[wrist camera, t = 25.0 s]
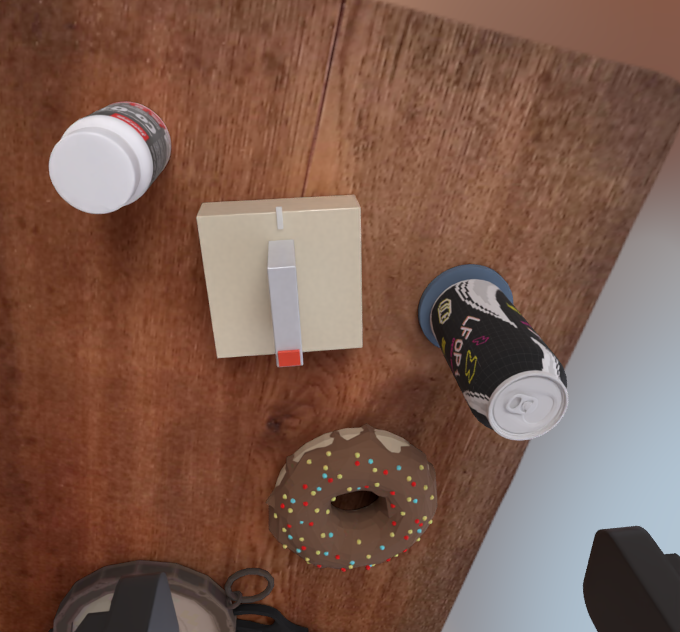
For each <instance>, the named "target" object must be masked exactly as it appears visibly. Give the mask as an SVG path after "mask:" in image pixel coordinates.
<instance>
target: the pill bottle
mask: <svg viewBox="0 0 680 632" xmlns="http://www.w3.org/2000/svg"><path fill="white" fill-rule="evenodd" d="M170 153H171V140H170V136H169V132H168V130H167V128H166V126H165V124H164V123H163V121H162V120H161V119H160V118H159V116H158V115H157V114H155V113H154V112H153V111H152V110H150V109H149V108H147V107H145V106H143V105H140V104H137V103H133V102H117V103H113V104H111V105H108V106H106V107H104V108H102V109H100V110H98V111H96V112H94V113H92V114H90V115H88V116H86V117H84V118H82V119H80V120H78V121H76V122H75V123H74V124H72V125H71V126H70V127H69V128H68V129H67V130H66V132H65V133H64V135H63V136H62V138H61V140H60V141H59V142H58V143H57V144H56V145H55V147H54V149H53V151H52V153H51V156H50V160H49V173H50V178H51V181H52V183H53V185H54V187H55V189H56V190H57V192H58V193H59V195H60V196H61V197H62V198H63V199H64V200H65V201H66V202H67V203H69V204H70V205H72V206H73V207H75V208H77V209H79V210H81V211H84V212H87V213H92V214H106V213H110V212H113V211H115V210H118V209H119V208H121V207H122V206H125V205H128V204H130V203H132V202H134V201H136V200H137V199H138V198H140V197H141V196H142V195H143V194H144V193H145V192H146V191H147V189H148V188H149V187H150V186H151V184H152V183H153V182H154V181H155V179H156V178H157V177H158V176H159V174H160V173H161V172H162V171H163V169H164V168H165V166H166V165H167V163H168V160H169V158H170Z"/></svg>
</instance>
